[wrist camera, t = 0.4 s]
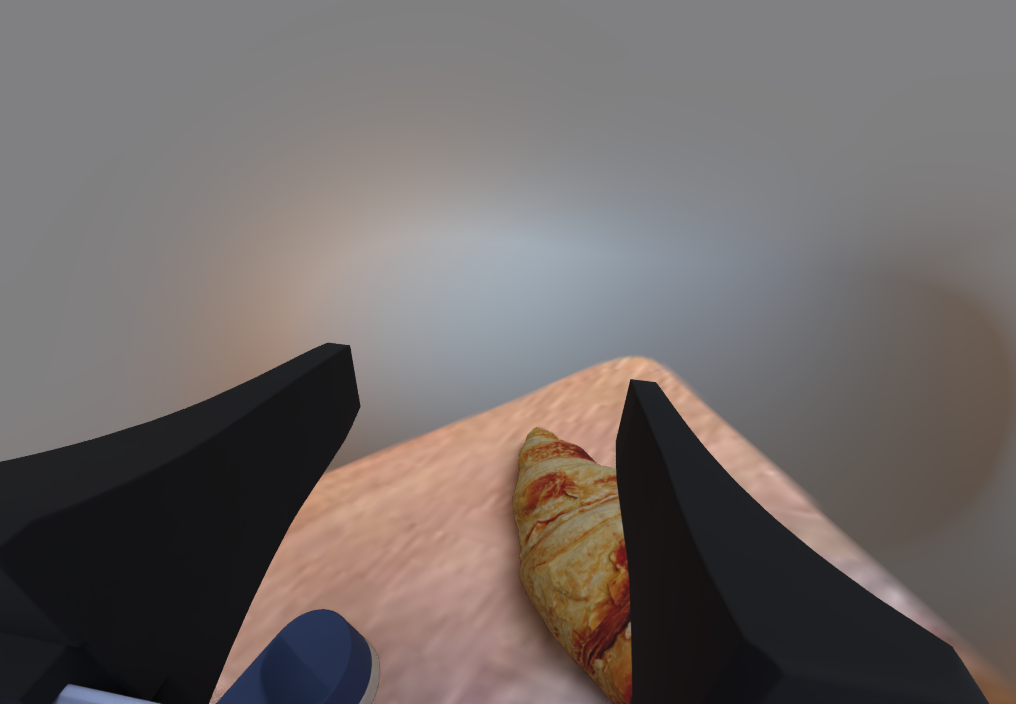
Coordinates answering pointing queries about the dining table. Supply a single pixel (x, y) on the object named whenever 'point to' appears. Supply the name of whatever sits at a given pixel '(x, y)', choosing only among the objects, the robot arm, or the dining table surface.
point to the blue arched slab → (311, 666)
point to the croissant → (576, 557)
